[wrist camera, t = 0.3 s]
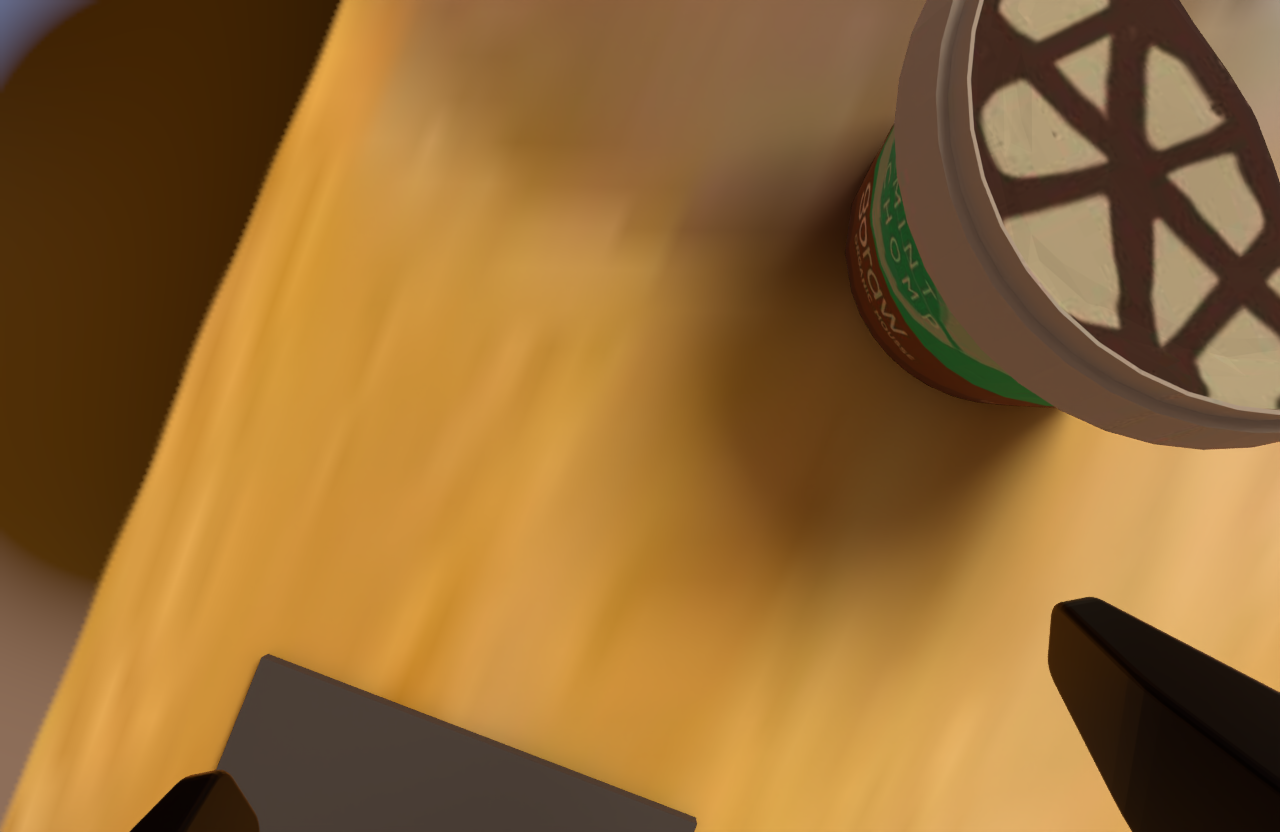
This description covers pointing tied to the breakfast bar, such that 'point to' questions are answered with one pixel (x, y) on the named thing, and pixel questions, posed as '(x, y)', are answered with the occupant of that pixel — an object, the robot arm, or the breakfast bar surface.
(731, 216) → the breakfast bar surface
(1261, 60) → the breakfast bar surface
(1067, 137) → the food container
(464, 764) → the mat
